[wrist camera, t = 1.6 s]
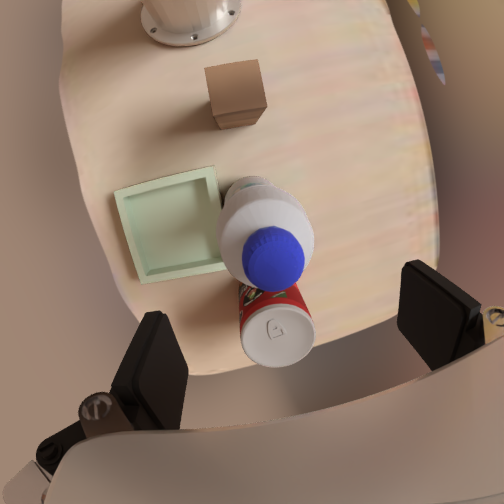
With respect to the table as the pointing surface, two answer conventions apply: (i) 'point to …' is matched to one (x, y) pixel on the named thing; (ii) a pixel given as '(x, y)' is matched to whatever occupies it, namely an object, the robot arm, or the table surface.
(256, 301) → the canned food
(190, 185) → the tray
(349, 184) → the table surface
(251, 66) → the walnut post
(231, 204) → the bottle
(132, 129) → the table surface
